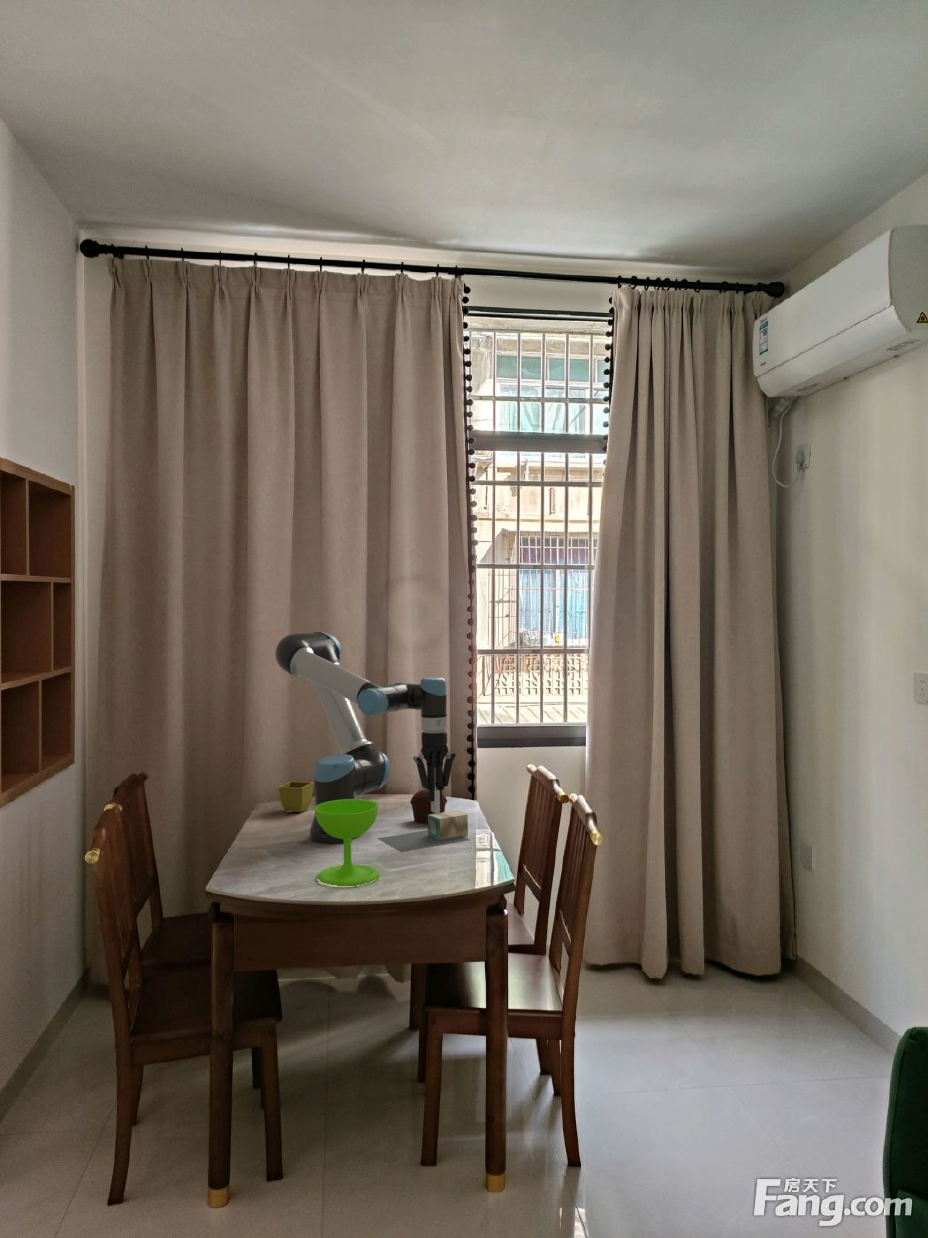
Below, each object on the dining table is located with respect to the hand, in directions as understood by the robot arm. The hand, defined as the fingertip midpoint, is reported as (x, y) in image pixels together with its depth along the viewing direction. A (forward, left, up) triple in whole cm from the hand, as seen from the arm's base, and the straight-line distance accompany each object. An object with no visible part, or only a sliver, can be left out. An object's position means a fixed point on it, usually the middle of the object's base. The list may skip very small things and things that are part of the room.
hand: (435, 811), depth 251 cm
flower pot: (-24, +54, -8) cm, 60 cm away
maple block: (-1, 0, -4) cm, 5 cm away
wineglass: (-35, -19, -8) cm, 41 cm away
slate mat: (-4, 0, -8) cm, 9 cm away
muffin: (+7, +18, -8) cm, 21 cm away
